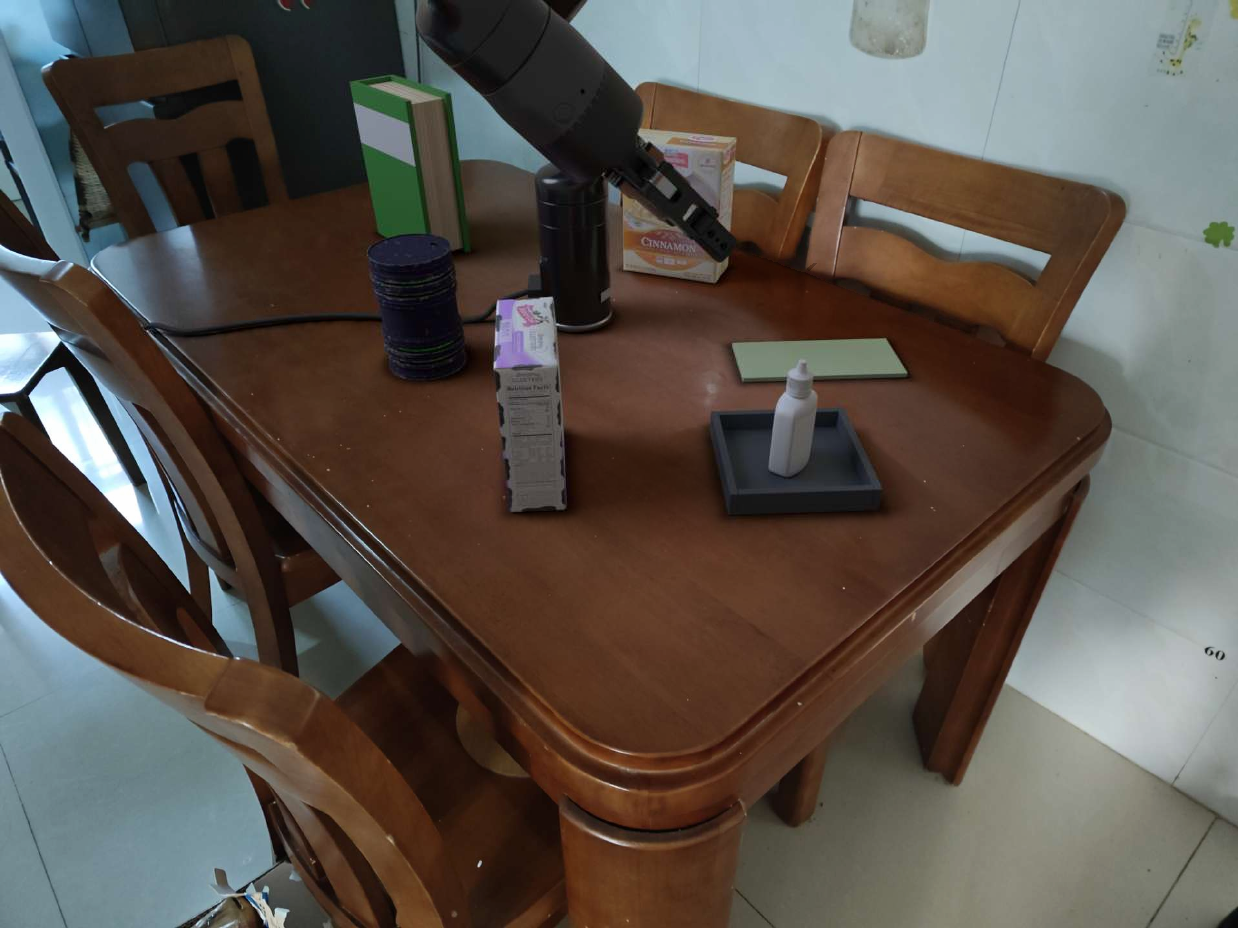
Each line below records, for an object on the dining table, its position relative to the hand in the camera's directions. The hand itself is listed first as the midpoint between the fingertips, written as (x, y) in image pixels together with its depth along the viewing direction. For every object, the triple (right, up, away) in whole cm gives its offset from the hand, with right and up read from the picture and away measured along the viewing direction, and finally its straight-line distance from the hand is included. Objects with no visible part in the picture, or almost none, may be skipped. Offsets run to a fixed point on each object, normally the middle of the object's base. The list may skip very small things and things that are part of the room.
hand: (702, 234), depth 67 cm
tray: (+11, -19, +19) cm, 29 cm away
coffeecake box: (+2, +11, +61) cm, 62 cm away
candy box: (-15, -19, +19) cm, 31 cm away
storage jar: (-31, -6, +38) cm, 50 cm away
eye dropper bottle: (+11, -19, +19) cm, 28 cm away
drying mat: (+18, -6, +37) cm, 41 cm away
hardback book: (-39, +18, +71) cm, 83 cm away
